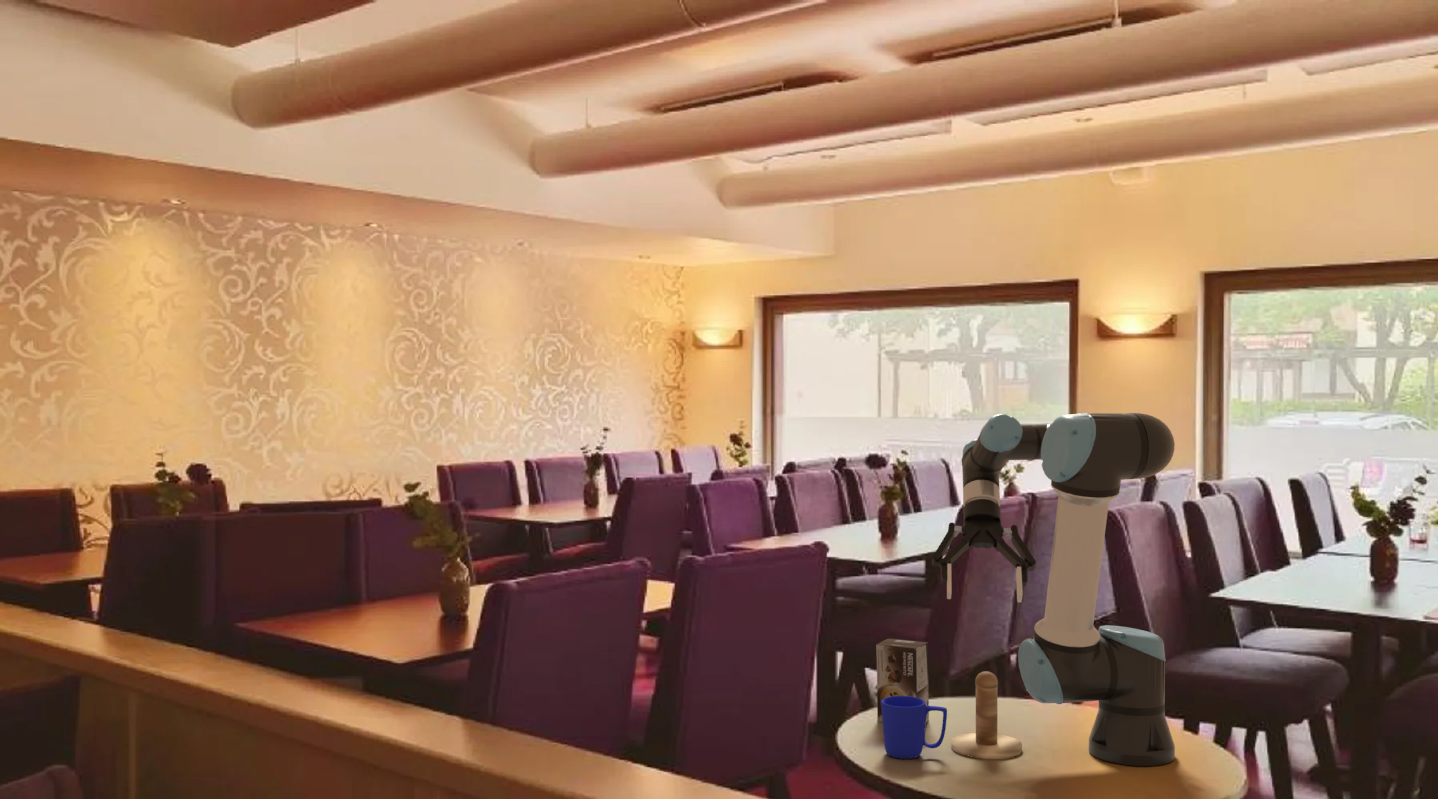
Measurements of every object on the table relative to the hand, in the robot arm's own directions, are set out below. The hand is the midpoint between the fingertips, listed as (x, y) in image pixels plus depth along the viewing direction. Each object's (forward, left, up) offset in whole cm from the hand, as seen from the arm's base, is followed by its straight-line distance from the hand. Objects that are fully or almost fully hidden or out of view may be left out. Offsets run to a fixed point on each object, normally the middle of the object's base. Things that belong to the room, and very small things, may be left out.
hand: (984, 597), depth 241 cm
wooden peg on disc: (-3, +10, -27) cm, 29 cm away
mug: (+8, +20, -27) cm, 34 cm away
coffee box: (+17, -1, -27) cm, 32 cm away
